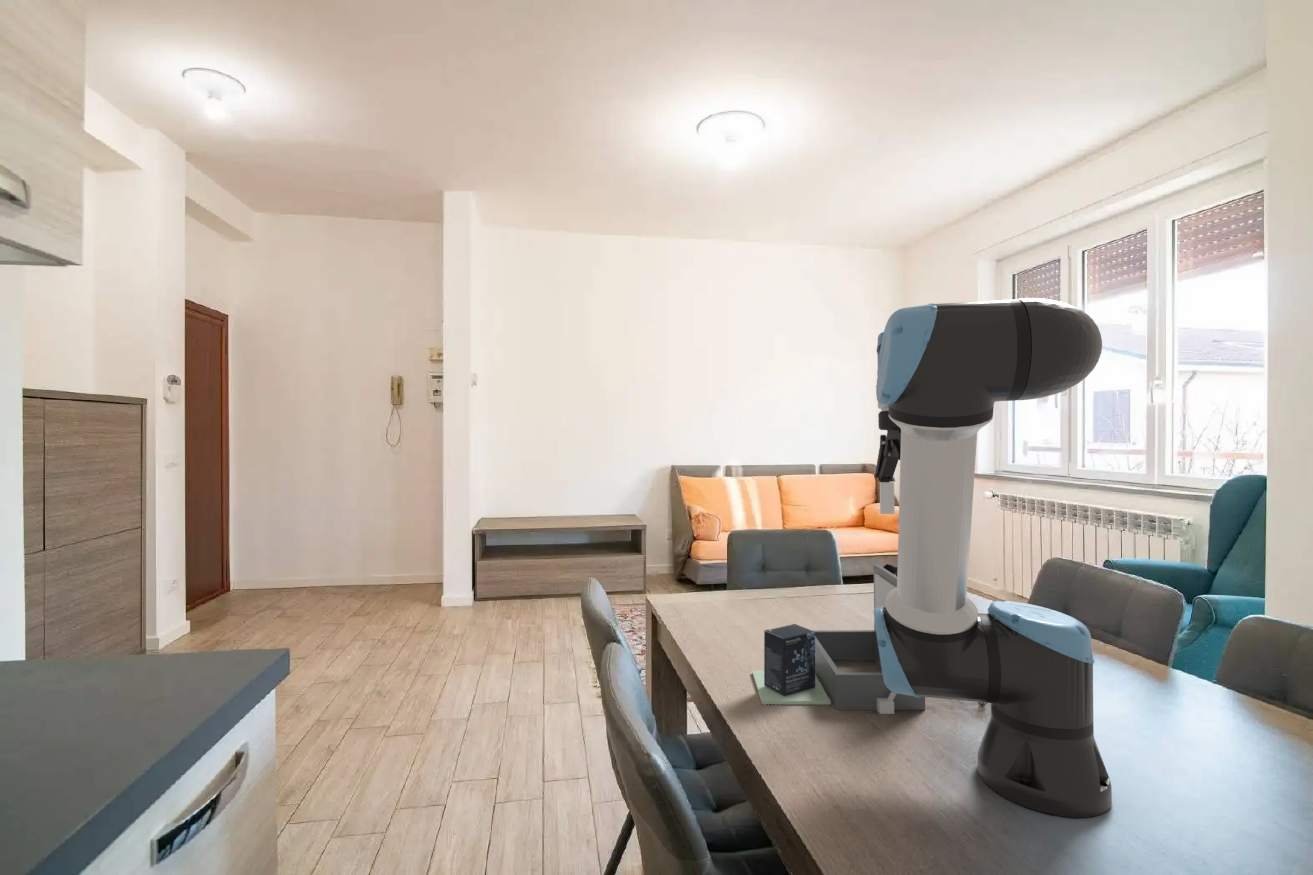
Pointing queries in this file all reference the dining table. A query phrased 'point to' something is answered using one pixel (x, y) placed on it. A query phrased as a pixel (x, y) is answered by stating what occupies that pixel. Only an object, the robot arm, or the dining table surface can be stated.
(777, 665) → the box
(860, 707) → the case
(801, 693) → the pad
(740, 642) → the dining table surface
